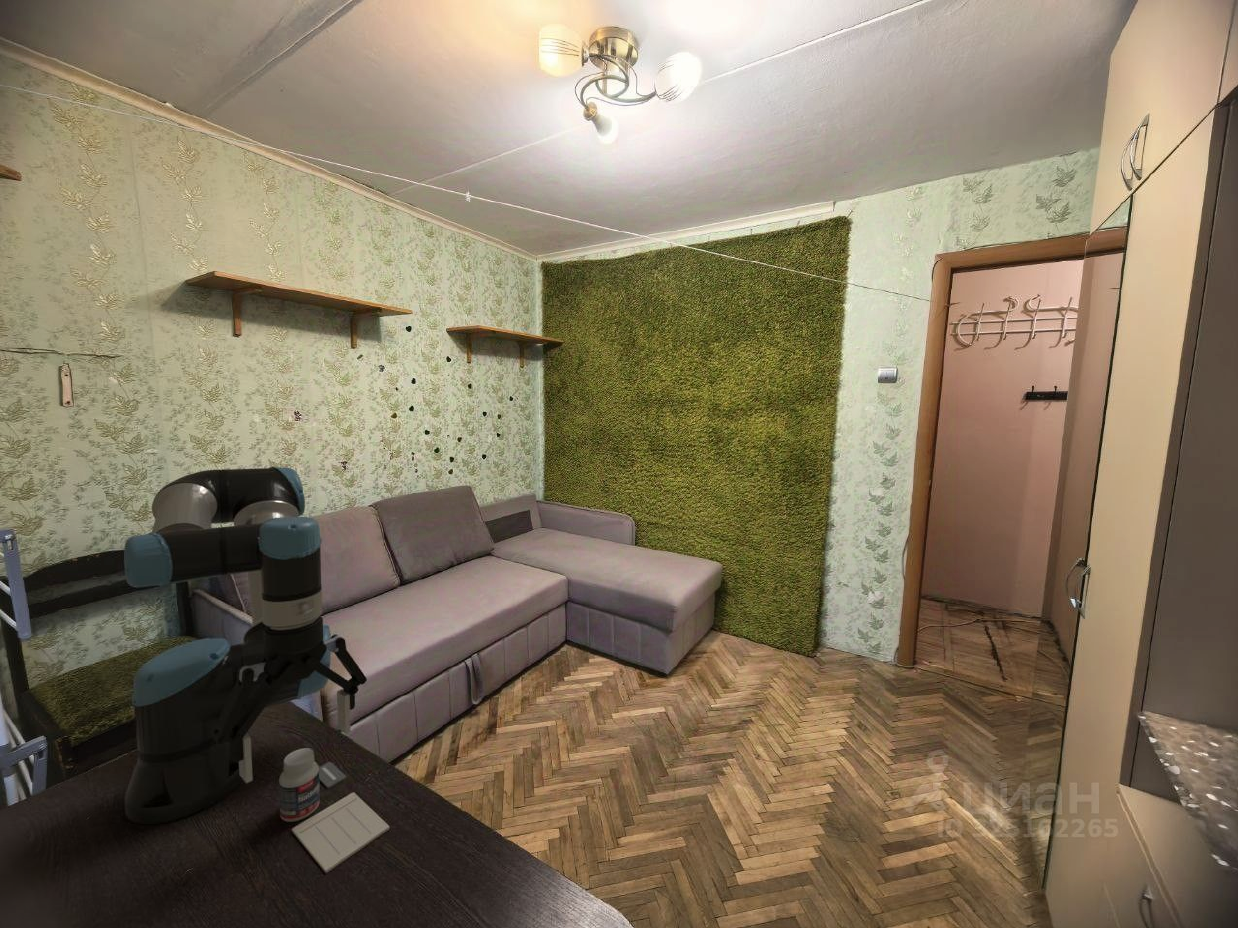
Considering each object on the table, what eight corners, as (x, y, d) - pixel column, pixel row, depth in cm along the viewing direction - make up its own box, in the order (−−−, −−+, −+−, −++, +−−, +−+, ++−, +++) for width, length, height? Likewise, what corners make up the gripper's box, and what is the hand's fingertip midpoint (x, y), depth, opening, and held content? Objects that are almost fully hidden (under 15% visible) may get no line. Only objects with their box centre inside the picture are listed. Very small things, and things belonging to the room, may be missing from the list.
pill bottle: (300, 826, 74) (298, 771, 73) (271, 819, 75) (269, 765, 74) (327, 799, 79) (326, 748, 78) (300, 793, 80) (298, 742, 79)
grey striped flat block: (311, 772, 84) (311, 770, 84) (330, 762, 87) (330, 760, 87) (328, 788, 81) (327, 786, 81) (346, 778, 83) (346, 776, 83)
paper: (291, 831, 73) (291, 828, 72) (353, 794, 80) (353, 791, 80) (326, 872, 66) (325, 870, 66) (389, 828, 74) (389, 826, 73)
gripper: (195, 659, 61) (204, 815, 63) (386, 602, 81) (389, 721, 83) (178, 642, 65) (186, 789, 67) (364, 592, 86) (366, 705, 88)
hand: (298, 752), depth 75 cm, fingers open, 13 cm apart
